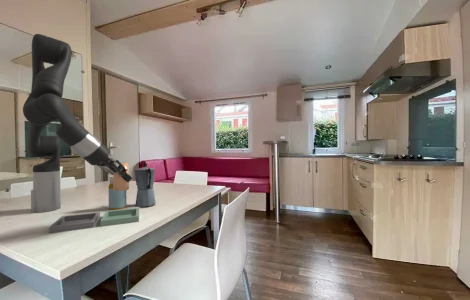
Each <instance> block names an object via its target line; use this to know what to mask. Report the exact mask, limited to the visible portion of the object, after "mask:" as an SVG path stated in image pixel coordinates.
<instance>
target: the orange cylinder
mask: <svg viewBox="0 0 470 300" xmlns="http://www.w3.org/2000/svg"><path fill="white" fill-rule="evenodd" d="M120 163H121V164H122V165H123V166H124V167H125V168H126V169H127V171H126V173H127V174H129V173H130V171H129V170H130V167H129V166H130V164H129V162H120ZM114 170H115V169H114ZM120 171H122V170H120ZM129 175H130V174H129ZM112 176H113V190H114V191H123V190H126V191H128V190H129V189H130V184H129V183H130V181H129V182H126V181H125V180H124V179H123V178H122V177H121V176H119V175H118V174H116V173H113V175H112Z"/></svg>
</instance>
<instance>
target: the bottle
mask: <svg viewBox="0 0 470 300" xmlns="http://www.w3.org/2000/svg"><path fill="white" fill-rule="evenodd" d="M126 208H127V190H123V191H114V190H113V175H109V184H108V209H109V211H114V210H124V209H126Z"/></svg>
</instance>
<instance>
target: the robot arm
mask: <svg viewBox="0 0 470 300" xmlns="http://www.w3.org/2000/svg"><path fill="white" fill-rule="evenodd" d="M71 61H72V48H71V45H70V44H69V43H68V42H66V41H63V40H60V39H58V38H57V39H56V38H54V37H50V36H48V35H44V34H42V33H41V34H40V33H35V34H34V35H33V37H32V40H31V70H32V72H31V73H32V75H31V76H32V77H31V79H32V80H31V91H30V94H29V95H28V97H27V98H26V100H25V101H24V104H23V106H22V114H23V117H24V118H25V119H26V120H27V122H29V123H30V124H29V132H28V139H27V152H28V154H29V155H30V156H31V157H50V158H49V159H47V160H46V161H44V162H41V163H39V164H37V163H36V164H35V165H33V166H32V189H31V190H30V208H31V209H30V212H31V213H44V212H52V211H56V210H60V208H61V207H62V205H61V203H62V201H61V200H62V199H61V197H62V196H61V146H62V145H61V141H63V142H64V143H65V144H67V146H69V147H70V148H71V149H72V150H73V151H74V152H75V153H76V154H77V155H79V156H80V157H81V158H82V159H83V160H85V162H87V163H88V164H89V165H90V166H97V167H98V168H100V169H101V170H103V171H104V172H105V173H106V174H110V176H113V173H116V174H118V175H119V176H121V177H122V178H123V179H124V180H125V181H126V182H129V183H130V182H131V181H132V179H133V177H132V176H131V175H130V174H127V173H126V171H127V169H126V168H125V167H124V166H123V165H122V164H121V163H122V162H120V161H119V160H118V159H114V158H113V157H110V156H109V154H110V153H111V151H110V149H109V148H108V147H107V146H106V145H105V144H104V143H102V142H101V141H100V140H99V139H98V137H96V136H94V134H92V133H91V132H90V131H88V130H87V129H86V128H85V127H84V126H83V125H82V124H81V123H80V122H79V121H78V119H77V118H76V116H75V115H74V113H73V112H72V109H70V107H69V106H68V104H67V101H65V100H64V99H63V93H64V84H65V80H66V77H67V74H68V73H69V72H68V71H69V68H70V66H71ZM45 63H46V64H49V65H51V66H48V67H46V66H45ZM56 120H58V121H59V123H60V126H59V127H58V128H57V129H56V131H55V134H56V135H41V134H42V132H43V130H44V129H45V127H47V126H48V125H49V124H51V123H52V122H54V121H56ZM114 169H115V170H114ZM120 170H122V171H120Z"/></svg>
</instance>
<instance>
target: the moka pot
mask: <svg viewBox="0 0 470 300" xmlns="http://www.w3.org/2000/svg"><path fill="white" fill-rule="evenodd" d="M147 165H148V164H147V163H143V167H139V168H136V169H134V171H133V172H134V177H135V184H136V186H137V187H136V188H137V190H136V199H135V203H134V204H135V207H138V208H143V207H144V208H146V207H151V206H154V205H156V196H155V189H154V183H155V172H156V168H153V167H147Z"/></svg>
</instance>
